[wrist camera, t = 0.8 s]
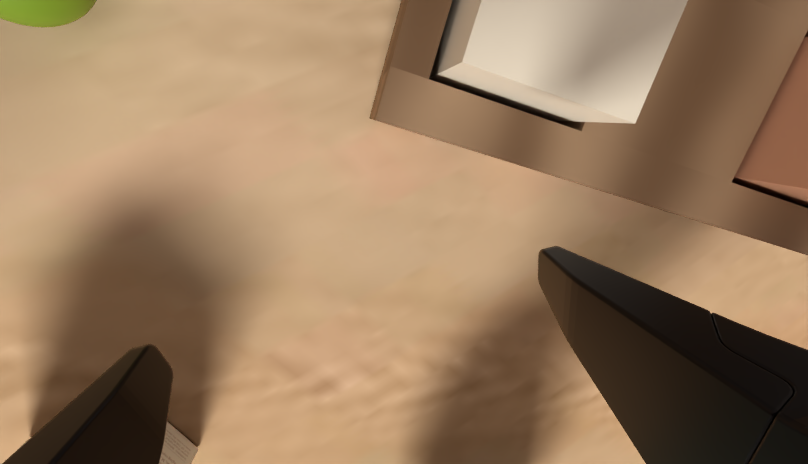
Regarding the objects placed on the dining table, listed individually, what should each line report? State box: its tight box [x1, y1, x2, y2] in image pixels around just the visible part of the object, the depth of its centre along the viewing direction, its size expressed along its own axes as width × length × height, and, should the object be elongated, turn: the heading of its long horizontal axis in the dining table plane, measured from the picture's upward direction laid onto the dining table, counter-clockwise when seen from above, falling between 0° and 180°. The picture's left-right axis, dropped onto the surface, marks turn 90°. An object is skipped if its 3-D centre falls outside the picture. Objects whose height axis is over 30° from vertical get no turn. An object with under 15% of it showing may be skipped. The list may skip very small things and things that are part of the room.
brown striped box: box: [370, 0, 808, 255], centre depth 20 cm, size 24×11×7 cm, turn 73°
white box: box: [429, 0, 688, 124], centre depth 15 cm, size 6×6×7 cm
